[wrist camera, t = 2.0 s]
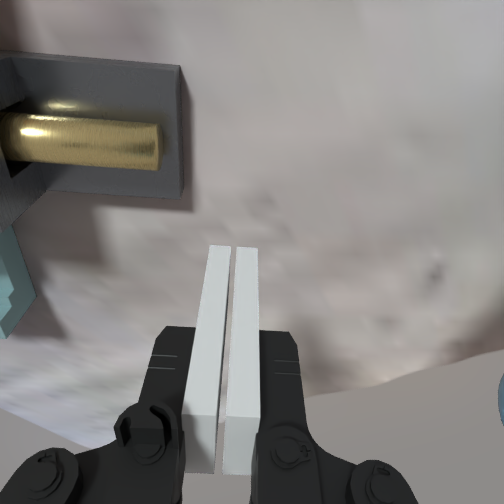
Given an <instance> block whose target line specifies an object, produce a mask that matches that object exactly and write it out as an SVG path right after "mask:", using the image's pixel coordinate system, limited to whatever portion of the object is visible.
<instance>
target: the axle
mask: <svg viewBox="0 0 504 504" xmlns="http://www.w3.org/2000/svg"><path fill="white" fill-rule="evenodd" d="M0 146H1V149H2V152H3V156H4V159H5V160H15V161H28V162H42V163H56V164H69V165H83V166H97V167H111V168H124V169H138V170H152V171H159V170H160V168H161V165H162V160H163V134H162V129H161V126H160V124H153V123H140V122H128V121H115V120H102V119H89V118H76V117H64V116H51V115H38V114H25V113H13V112H0Z"/></svg>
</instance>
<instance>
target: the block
mask: <svg viewBox="0 0 504 504" xmlns="http://www.w3.org/2000/svg"><path fill="white" fill-rule="evenodd" d="M0 112H13V113H25V114H38V115H51V116H64V117H76V118H89V119H102V120H115V121H128V122H140V123H153V124H160V126H161V129H162V134H163V160H162V165H161V168H160V170H159V171H152V170H138V169H124V168H111V167H97V166H83V165H69V164H56V163H42V162H28V161H15V160H5V159H4V156H3V152H2V149H1V146H0V233H3V232H4V231H5V230H6V229H7V228H8V227H9V226H10V225H11V224H12V223H13V222H14V221H15V220H16V219H17V218H18V217H19V216H20V215H21V214H22V213H24V212H25V211H26V210H27V209H28V208H29V207H30V206H31V205H32V204H33V203H34V202H35V201H36V200H37V199H38V198H39V197H40V196H41V195H42V194H43V193H44V192H45V191H46V190H51V191H65V192H80V193H94V194H108V195H122V196H137V197H151V198H165V199H179V200H180V198H181V195H182V192H183V189H184V174H183V144H182V113H181V82H180V65H170V64H158V63H146V62H135V61H123V60H111V59H99V58H88V57H76V56H64V55H52V54H41V53H29V52H17V51H5V50H0Z"/></svg>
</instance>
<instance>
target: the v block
mask: <svg viewBox="0 0 504 504" xmlns="http://www.w3.org/2000/svg"><path fill="white" fill-rule="evenodd" d="M36 297H37V296H36V293H35V290H34V288H33V285H32V282H31V279H30V276H29V273H28V270H27V268H26V265H25V262H24V259H23V256H22V253H21V250H20V248H19V245H18V242H17V239H16V236H15V233H14V230H13V227H12V225H10V226H9V227H8V228H7V229H6V230H5V231H4V232H3V233H0V339H7V337H8V336H9V335H10V333H11V332H12V330H13V329H14V328H15V326H16V325H17V323H18V322H19V321H20V319H21V318H22V316H23V315H24V314H25V312H26V311H27V309H28V308H29V307H30V305H31V304H32V302H33V301H34V300H35V298H36Z"/></svg>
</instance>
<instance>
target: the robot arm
mask: <svg viewBox="0 0 504 504" xmlns="http://www.w3.org/2000/svg"><path fill="white" fill-rule="evenodd" d="M230 257H231V246H218V245H210V249H209V255H208V261H207V267H206V273H205V279H204V285H203V290H202V296H201V302H200V308H199V314H198V320H197V326H196V328H195V327H177V326H166V327H165V328H164V330H163V331H162V332H161V333H160V334H159V336H158V337H157V338H156V340H155V344H154V347H153V351H152V356H151V358H150V362H149V365H148V369H147V372H146V376H145V379H144V383H143V387H142V390H141V394H140V397H139V401H138V403H136V404H134V405H132V406H130V407H128V408H127V409H126V410H125V411H124V412H123V413H122V414H121V415H120V416H119V418H118V420H117V421H116V423H115V425H114V431H115V435H116V440H115V441H113V442H111V443H110V444H107V445H105V446H102V447H100V448H96V449H93V450H89V451H86V452H82V453H79V454H75V455H74V454H73V453H71V452H69V451H68V450H66V449H64V448H49V449H46V450H42V451H39V452H38V453H36V454H34V455H33V456H31V457H30V458H28V459H27V460H26V461H25V462H24V463H23V464H22V465H21V466H20V467H19V468H18V469H17V470H16V471H15V473H14V474H13V475H12V477H11V478H10V480H9V481H8V482H7V484H6V485H5V486H4V488H3V489H2V491H1V492H0V504H182V484H183V477H184V471H185V473H208V474H214V468H215V456H216V443H217V431H218V419H219V407H220V395H221V382H222V370H223V358H224V346H225V334H226V321H227V309H228V295H229V276H230ZM498 405H499V412H500V416H501V421H502V423H503V425H504V374H503V377H502V378H501V381H500V384H499V390H498ZM222 474H232V475H251V496H250V503H249V504H418V502H417V500H416V498H415V496H414V494H413V492H412V490H411V488H410V486H409V485H408V483H407V482H406V480H405V479H404V478H403V476H402V475H401V473H399V472H398V471H397V470H396V469H395V468H393V467H392V466H391V465H389V464H387V463H384V462H382V461H379V460H366V461H364V462H362V463H360V464H358V465H355V464H353V463H350V462H347V461H345V460H343V459H340V458H337V457H335V456H333V455H331V454H329V453H327V452H325V451H324V450H323V449H322V448H321V447H319V446H318V444H317V443H316V442H315V441H314V439H313V438H312V436H311V434H310V432H309V430H308V427H307V422H306V414H305V406H304V397H303V389H302V381H301V376H300V365H299V357H298V349H297V344H296V343H295V341H294V339H293V338H292V336H291V335H290V333H289V332H283V331H265V330H259V303H258V248H249V247H237V253H236V269H235V284H234V299H233V315H232V330H231V345H230V361H229V376H228V392H227V407H226V422H225V438H224V454H223V470H222Z"/></svg>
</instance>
